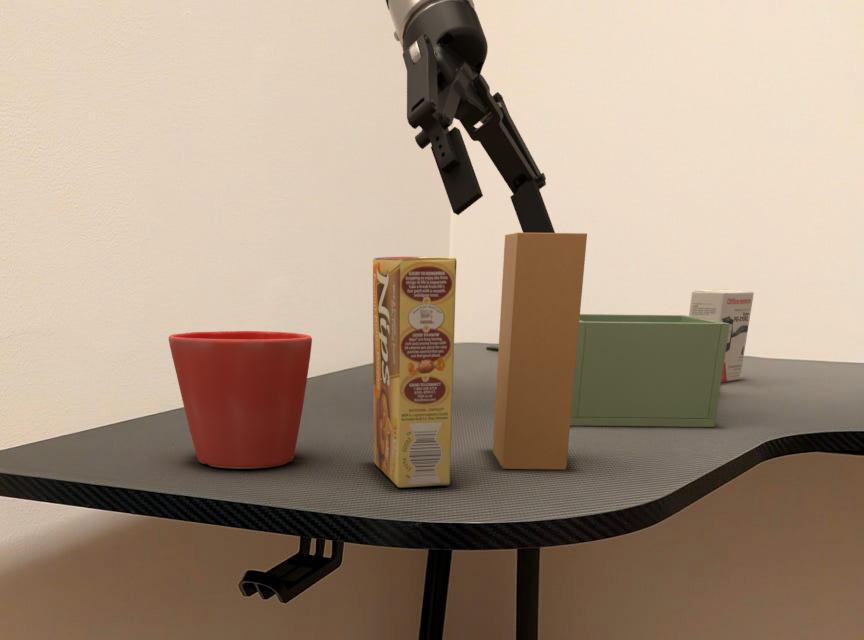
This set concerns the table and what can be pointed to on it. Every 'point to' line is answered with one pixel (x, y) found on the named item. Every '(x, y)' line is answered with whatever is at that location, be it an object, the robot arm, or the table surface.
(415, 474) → the candy box
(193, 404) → the flower pot
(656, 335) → the storage bin
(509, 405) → the block
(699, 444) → the table surface
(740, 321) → the ink box
